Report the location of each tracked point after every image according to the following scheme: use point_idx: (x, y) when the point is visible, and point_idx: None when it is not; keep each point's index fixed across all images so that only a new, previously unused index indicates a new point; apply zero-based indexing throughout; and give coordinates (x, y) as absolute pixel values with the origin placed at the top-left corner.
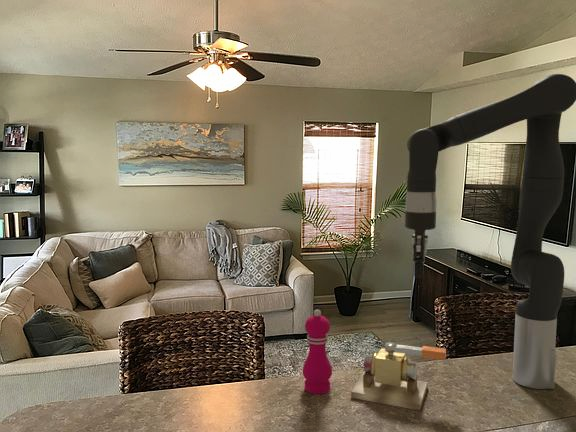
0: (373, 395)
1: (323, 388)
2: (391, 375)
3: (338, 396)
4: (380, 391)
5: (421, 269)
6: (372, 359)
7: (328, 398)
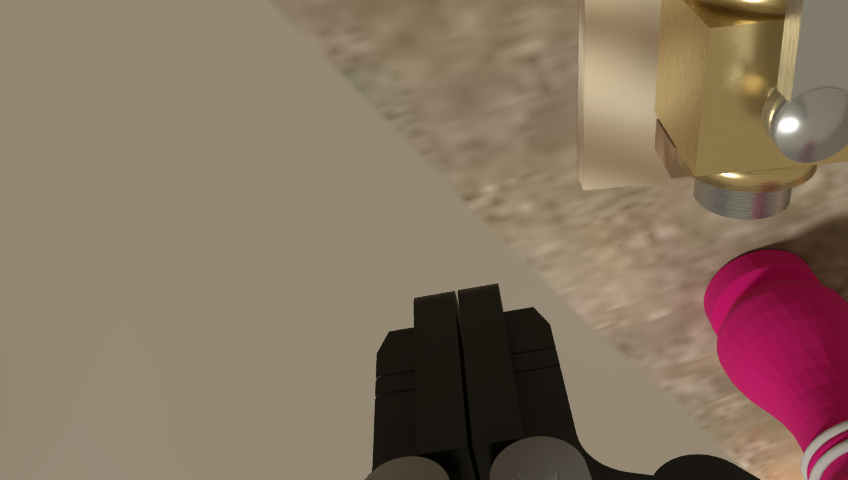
0: None
1: (809, 270)
2: None
3: (807, 200)
4: None
5: (561, 379)
6: (813, 171)
7: (835, 225)
